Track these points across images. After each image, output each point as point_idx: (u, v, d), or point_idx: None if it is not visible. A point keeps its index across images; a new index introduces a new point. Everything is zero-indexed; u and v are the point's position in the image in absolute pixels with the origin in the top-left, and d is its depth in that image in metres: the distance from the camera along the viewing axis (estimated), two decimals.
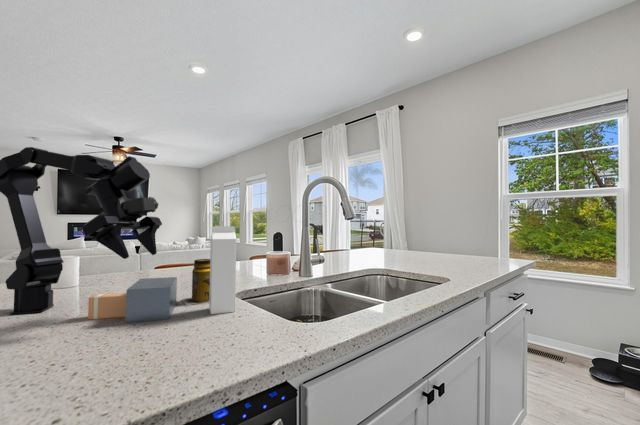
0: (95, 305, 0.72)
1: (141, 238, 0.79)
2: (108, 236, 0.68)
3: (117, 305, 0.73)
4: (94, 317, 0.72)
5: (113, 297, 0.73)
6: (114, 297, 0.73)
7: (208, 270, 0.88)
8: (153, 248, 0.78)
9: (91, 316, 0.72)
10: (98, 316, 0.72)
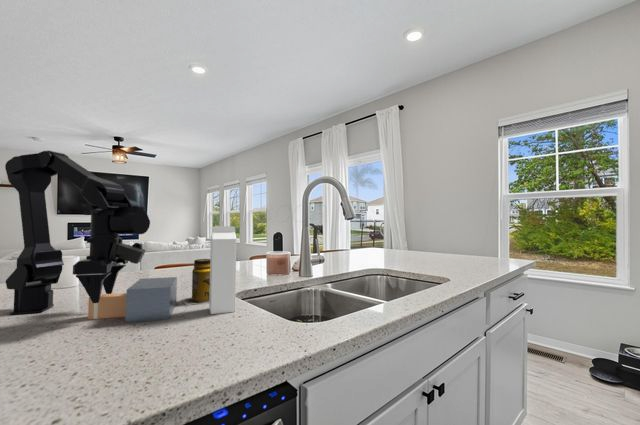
0: (95, 305, 0.72)
1: None
2: (91, 276, 0.68)
3: (117, 305, 0.73)
4: (94, 317, 0.72)
5: (113, 297, 0.73)
6: (114, 297, 0.73)
7: (208, 270, 0.88)
8: (111, 288, 0.78)
9: (91, 316, 0.72)
10: (98, 316, 0.72)
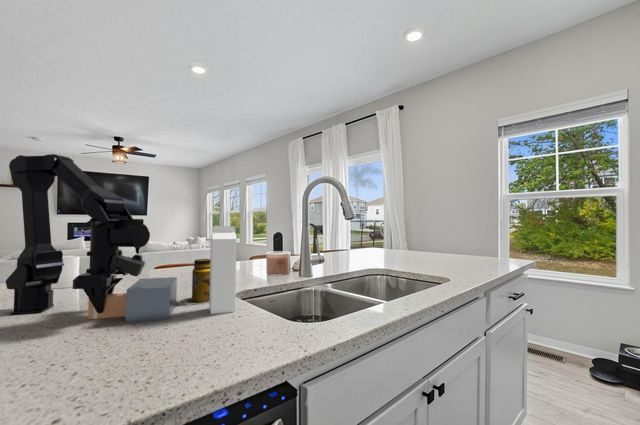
0: None
1: None
2: None
3: (117, 305, 0.73)
4: (93, 317, 0.72)
5: (113, 297, 0.73)
6: (114, 297, 0.73)
7: (208, 270, 0.88)
8: None
9: (91, 316, 0.72)
10: (98, 316, 0.72)
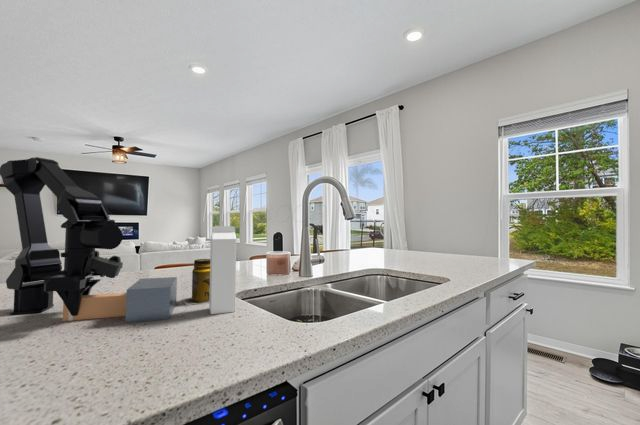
0: None
1: None
2: None
3: (94, 306, 0.72)
4: (69, 319, 0.70)
5: (89, 298, 0.72)
6: (90, 298, 0.72)
7: (208, 270, 0.88)
8: None
9: (66, 318, 0.70)
10: (73, 318, 0.71)
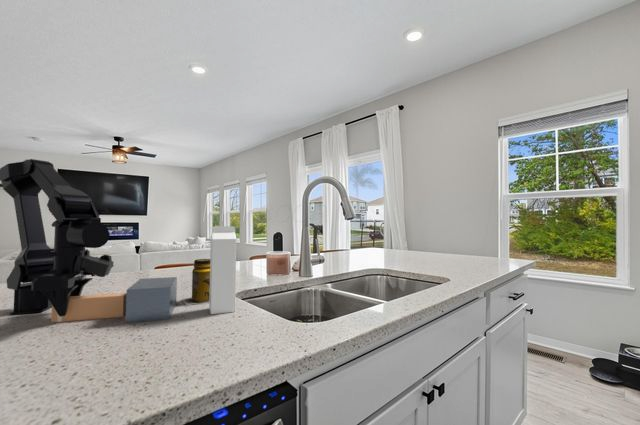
0: None
1: None
2: None
3: (83, 307, 0.71)
4: (58, 320, 0.69)
5: (78, 299, 0.71)
6: (80, 299, 0.71)
7: (208, 270, 0.88)
8: None
9: (55, 319, 0.69)
10: (62, 319, 0.70)
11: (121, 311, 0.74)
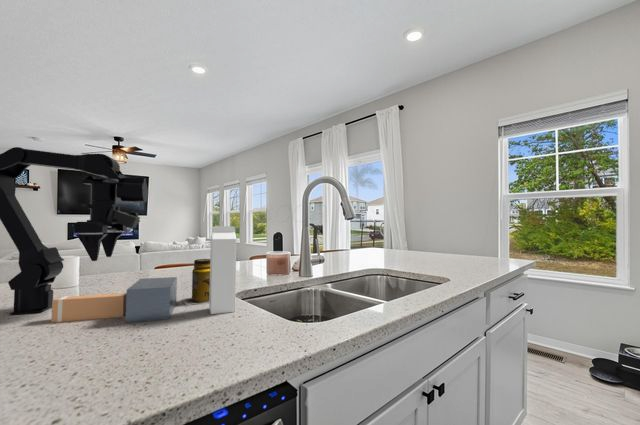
0: (59, 307, 0.70)
1: (103, 237, 0.87)
2: (89, 236, 0.77)
3: (83, 307, 0.71)
4: (58, 320, 0.69)
5: (78, 299, 0.71)
6: (80, 299, 0.71)
7: (208, 270, 0.88)
8: (110, 251, 0.87)
9: (55, 319, 0.69)
10: (62, 319, 0.70)
11: (121, 311, 0.74)
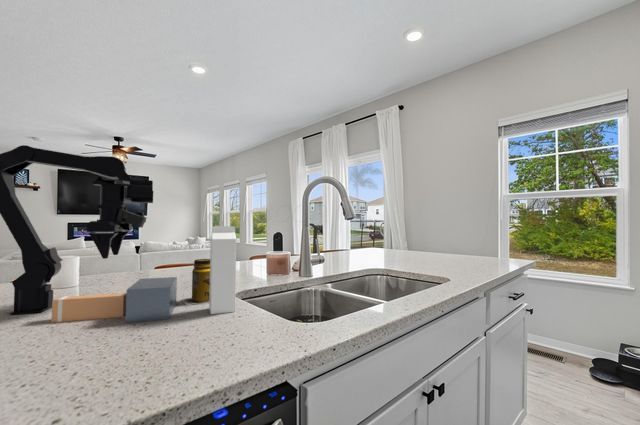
0: (59, 307, 0.70)
1: None
2: (101, 235, 0.81)
3: (83, 307, 0.71)
4: (58, 320, 0.69)
5: (78, 299, 0.71)
6: (80, 299, 0.71)
7: (208, 270, 0.88)
8: (117, 250, 0.91)
9: (55, 319, 0.69)
10: (62, 319, 0.70)
11: (121, 311, 0.74)
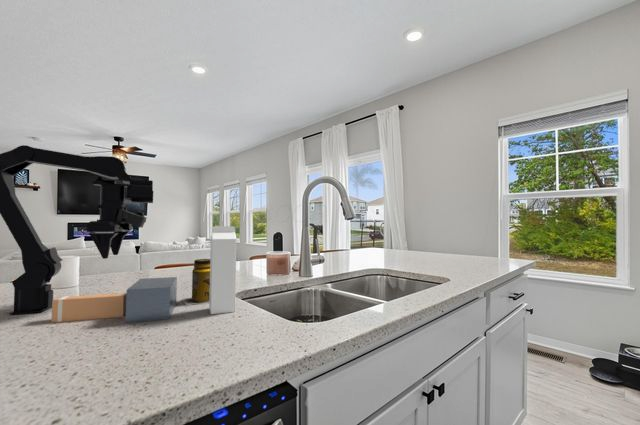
0: (59, 307, 0.70)
1: None
2: (101, 235, 0.81)
3: (83, 307, 0.71)
4: (58, 320, 0.69)
5: (78, 299, 0.71)
6: (80, 299, 0.71)
7: (208, 270, 0.88)
8: (117, 250, 0.91)
9: (55, 319, 0.69)
10: (62, 319, 0.70)
11: (121, 311, 0.74)
